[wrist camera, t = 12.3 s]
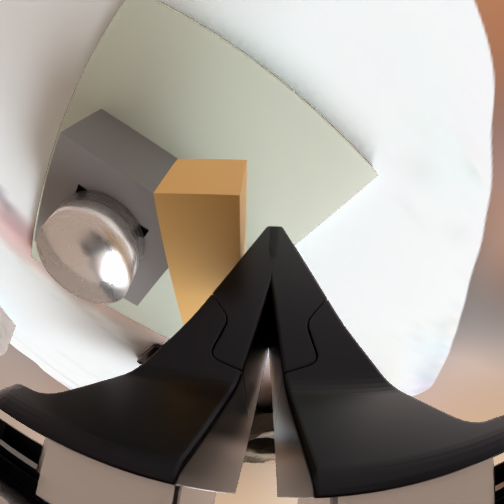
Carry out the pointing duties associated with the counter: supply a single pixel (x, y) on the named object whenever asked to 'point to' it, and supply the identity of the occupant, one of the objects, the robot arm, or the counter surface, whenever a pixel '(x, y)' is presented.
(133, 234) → the pin
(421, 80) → the counter surface
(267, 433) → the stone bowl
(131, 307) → the block
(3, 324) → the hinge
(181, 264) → the bar
